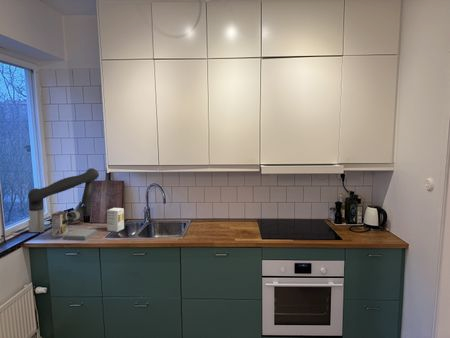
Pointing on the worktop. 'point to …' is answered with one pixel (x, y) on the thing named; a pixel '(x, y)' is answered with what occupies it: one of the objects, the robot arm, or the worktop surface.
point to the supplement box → (115, 219)
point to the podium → (80, 234)
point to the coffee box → (59, 223)
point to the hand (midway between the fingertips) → (57, 222)
